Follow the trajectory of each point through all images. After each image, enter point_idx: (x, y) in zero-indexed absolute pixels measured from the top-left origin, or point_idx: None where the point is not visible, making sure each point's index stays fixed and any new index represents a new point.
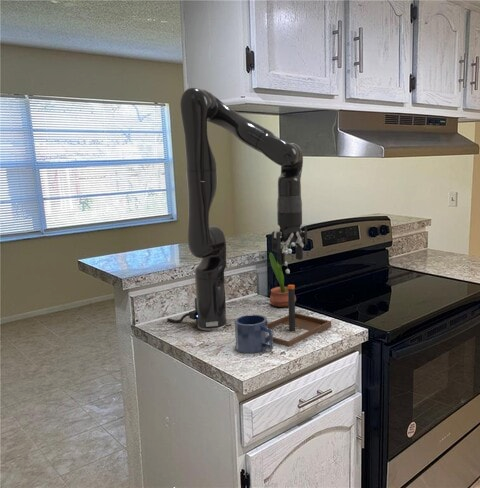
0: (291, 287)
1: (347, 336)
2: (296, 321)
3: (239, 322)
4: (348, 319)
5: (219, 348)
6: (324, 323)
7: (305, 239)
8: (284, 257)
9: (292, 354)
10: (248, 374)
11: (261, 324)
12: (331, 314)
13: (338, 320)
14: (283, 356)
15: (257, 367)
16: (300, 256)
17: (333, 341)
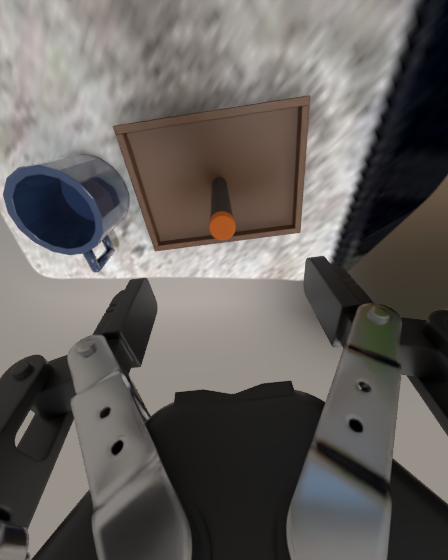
0: (214, 235)
1: (272, 277)
2: (275, 139)
3: (32, 175)
4: (358, 222)
5: (19, 125)
6: (280, 231)
7: (439, 409)
8: (144, 341)
9: (149, 265)
10: (50, 270)
11: (74, 253)
12: (377, 165)
13: (342, 210)
14: (132, 260)
15: (73, 262)
16: (310, 299)
17: (238, 275)
